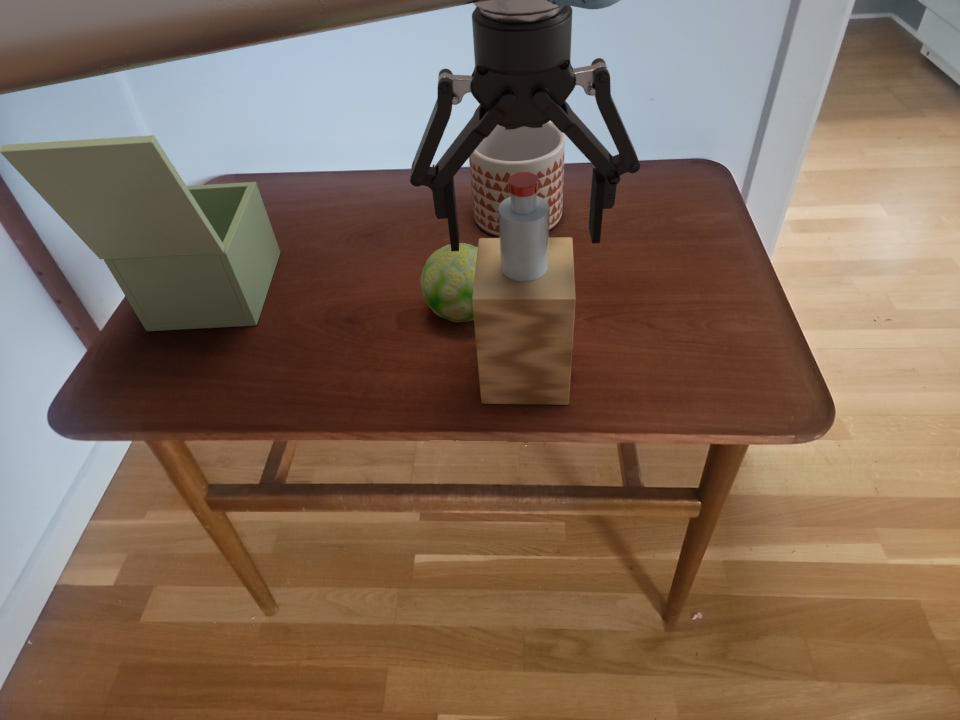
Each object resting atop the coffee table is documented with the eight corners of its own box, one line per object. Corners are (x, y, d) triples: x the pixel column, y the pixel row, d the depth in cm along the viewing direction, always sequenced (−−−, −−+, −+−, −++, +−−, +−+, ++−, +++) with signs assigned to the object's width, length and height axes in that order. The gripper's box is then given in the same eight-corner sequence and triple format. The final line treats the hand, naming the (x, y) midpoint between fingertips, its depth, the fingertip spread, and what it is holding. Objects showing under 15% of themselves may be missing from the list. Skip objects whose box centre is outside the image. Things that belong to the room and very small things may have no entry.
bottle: (522, 288, 63) (521, 200, 56) (491, 266, 66) (486, 179, 59) (557, 267, 65) (561, 179, 58) (526, 246, 68) (525, 160, 61)
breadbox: (182, 257, 97) (148, 188, 89) (280, 252, 97) (255, 181, 88) (146, 331, 86) (103, 260, 78) (256, 325, 86) (225, 253, 77)
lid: (2, 144, 63) (-1, 151, 62) (154, 134, 62) (152, 142, 62) (102, 252, 77) (99, 259, 77) (224, 246, 77) (223, 252, 76)
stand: (481, 403, 74) (471, 299, 63) (486, 342, 81) (478, 237, 70) (568, 405, 73) (575, 299, 62) (566, 342, 80) (572, 236, 69)
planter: (579, 223, 97) (584, 145, 88) (498, 251, 94) (495, 173, 85) (534, 181, 106) (534, 106, 97) (459, 206, 102) (452, 130, 93)
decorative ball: (416, 333, 83) (405, 272, 76) (437, 284, 90) (429, 223, 82) (491, 343, 81) (487, 281, 74) (507, 291, 88) (505, 230, 80)
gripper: (679, -25, 50) (645, 209, 65) (360, -2, 51) (400, 224, 66) (704, 10, 45) (660, 255, 60) (348, 34, 46) (395, 270, 61)
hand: (524, 239), depth 63 cm, fingers open, 13 cm apart
